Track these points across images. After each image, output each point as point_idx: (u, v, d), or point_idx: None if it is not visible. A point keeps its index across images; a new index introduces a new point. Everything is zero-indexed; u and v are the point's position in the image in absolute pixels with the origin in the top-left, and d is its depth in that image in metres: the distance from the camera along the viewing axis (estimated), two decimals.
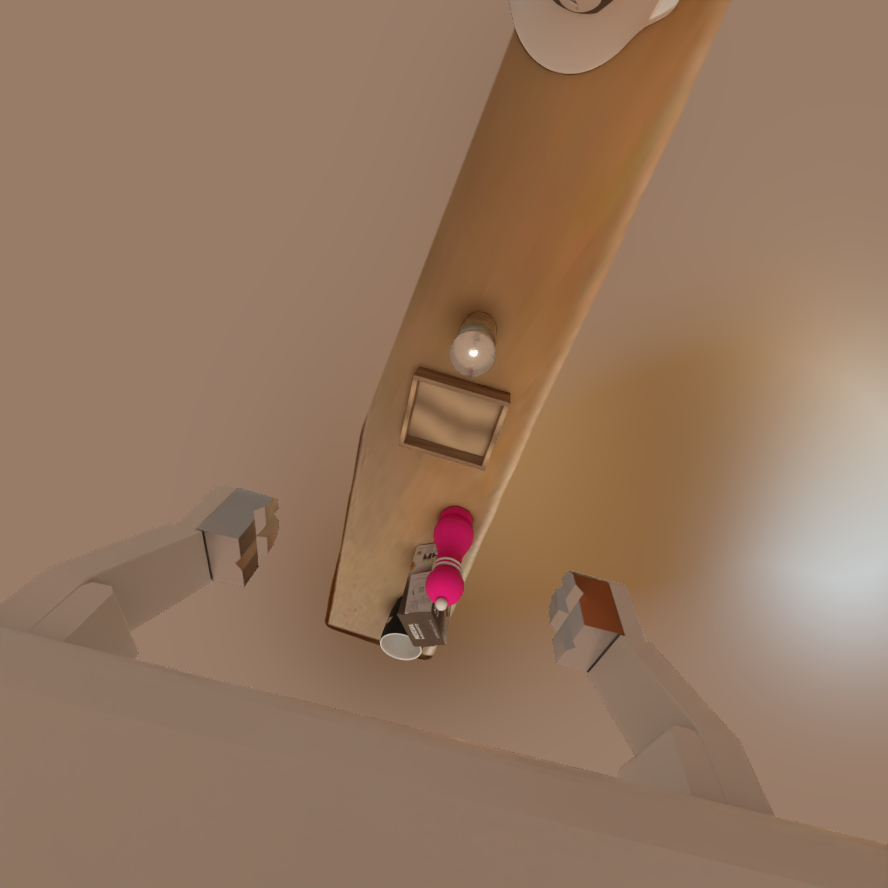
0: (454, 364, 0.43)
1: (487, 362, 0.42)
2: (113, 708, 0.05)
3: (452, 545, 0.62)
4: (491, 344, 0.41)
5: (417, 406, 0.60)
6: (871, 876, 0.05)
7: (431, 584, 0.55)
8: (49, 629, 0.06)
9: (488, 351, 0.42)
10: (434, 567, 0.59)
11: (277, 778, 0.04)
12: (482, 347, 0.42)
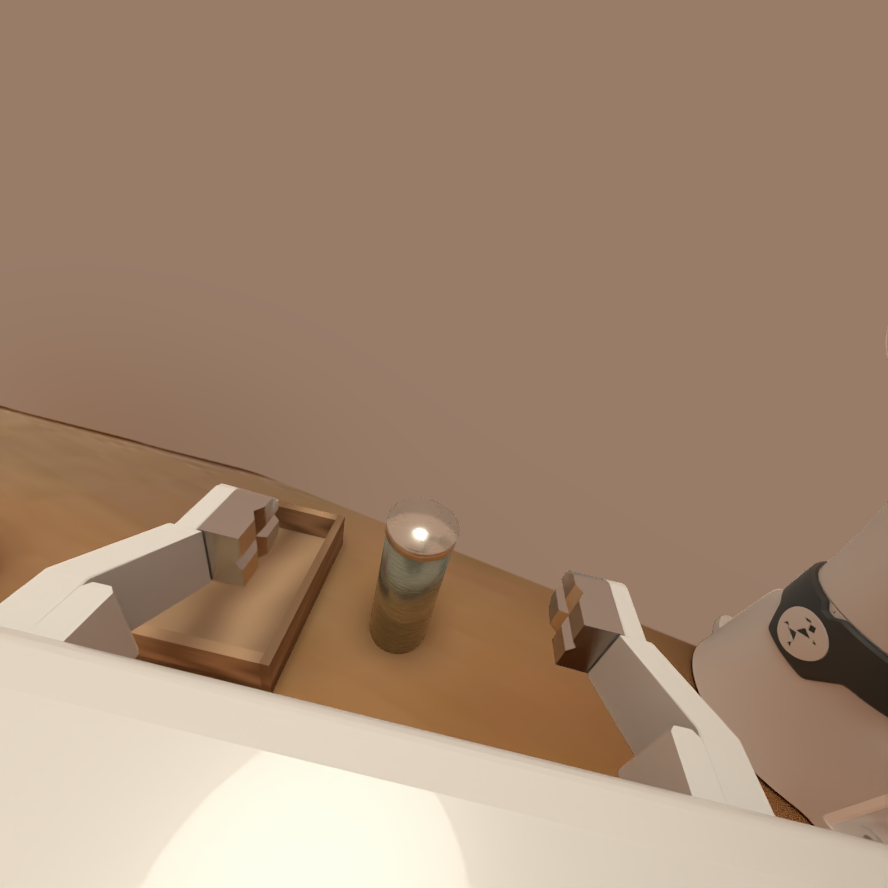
0: (405, 501, 0.28)
1: (413, 541, 0.25)
2: (112, 707, 0.05)
3: None
4: (444, 546, 0.25)
5: (279, 531, 0.38)
6: (871, 876, 0.05)
7: None
8: (49, 629, 0.06)
9: (432, 542, 0.25)
10: None
11: (277, 778, 0.04)
12: (437, 535, 0.26)
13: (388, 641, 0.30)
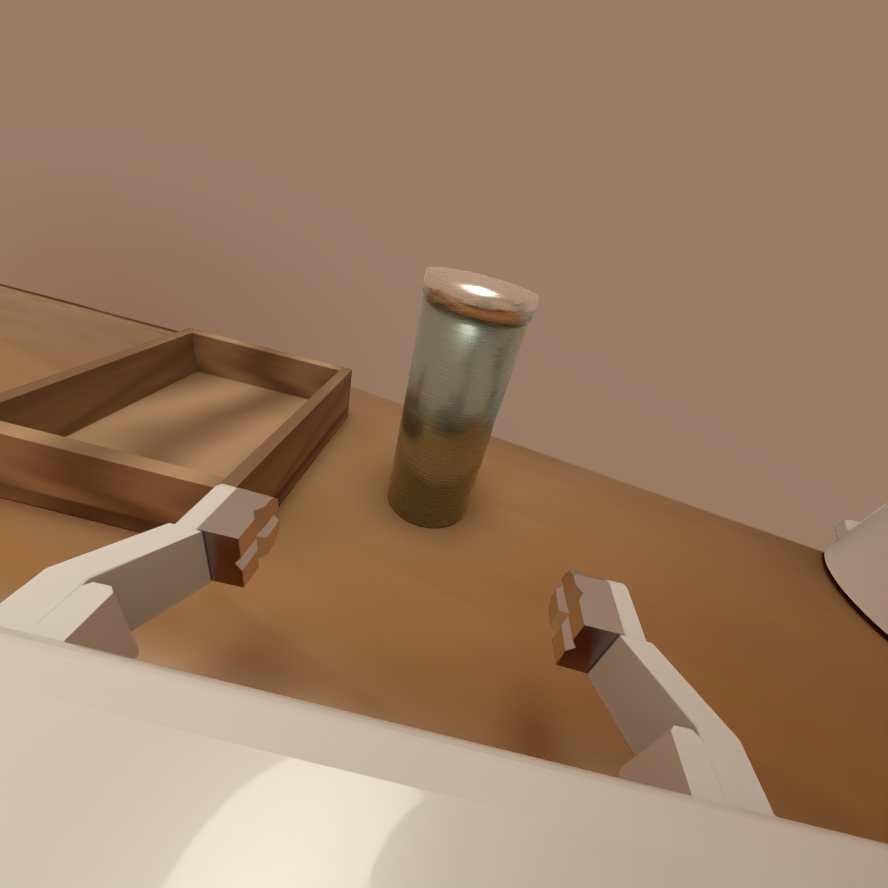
0: (450, 268, 0.18)
1: (472, 287, 0.15)
2: (114, 708, 0.05)
3: None
4: (522, 298, 0.15)
5: (263, 391, 0.28)
6: (871, 876, 0.05)
7: None
8: (49, 629, 0.06)
9: (502, 293, 0.15)
10: None
11: (277, 778, 0.04)
12: (507, 292, 0.16)
13: (417, 504, 0.21)
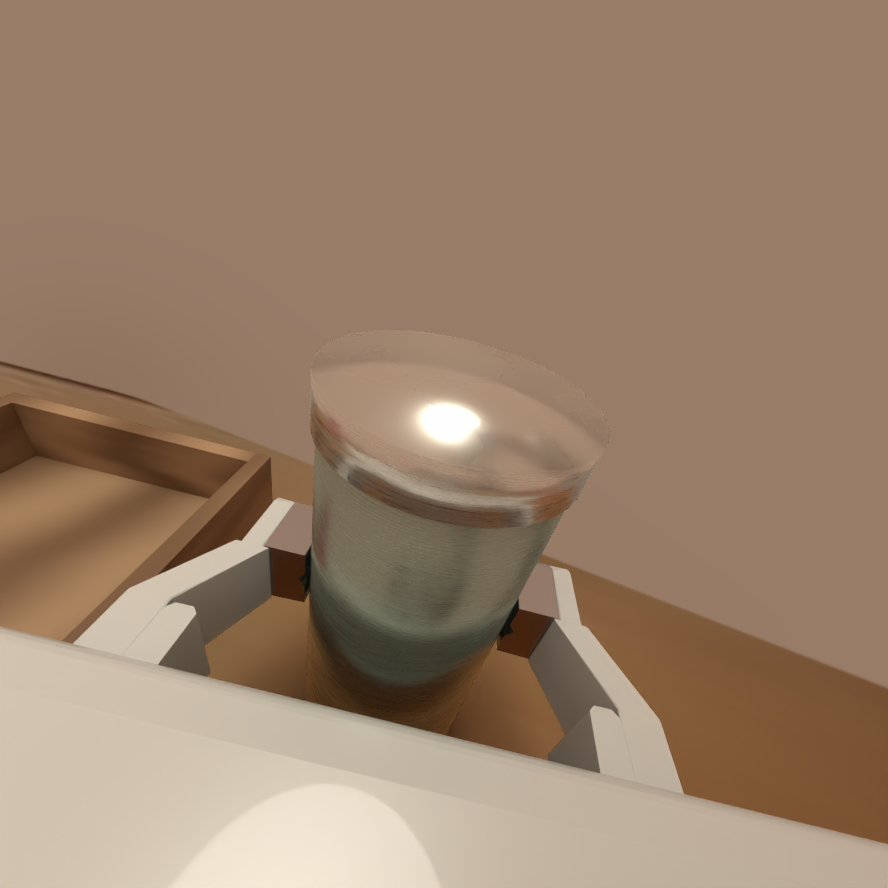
0: (396, 333, 0.08)
1: (429, 426, 0.05)
2: (112, 708, 0.05)
3: None
4: (575, 456, 0.05)
5: (136, 488, 0.18)
6: (871, 876, 0.05)
7: None
8: (142, 652, 0.06)
9: (517, 437, 0.05)
10: None
11: (277, 778, 0.04)
12: (529, 419, 0.06)
13: None
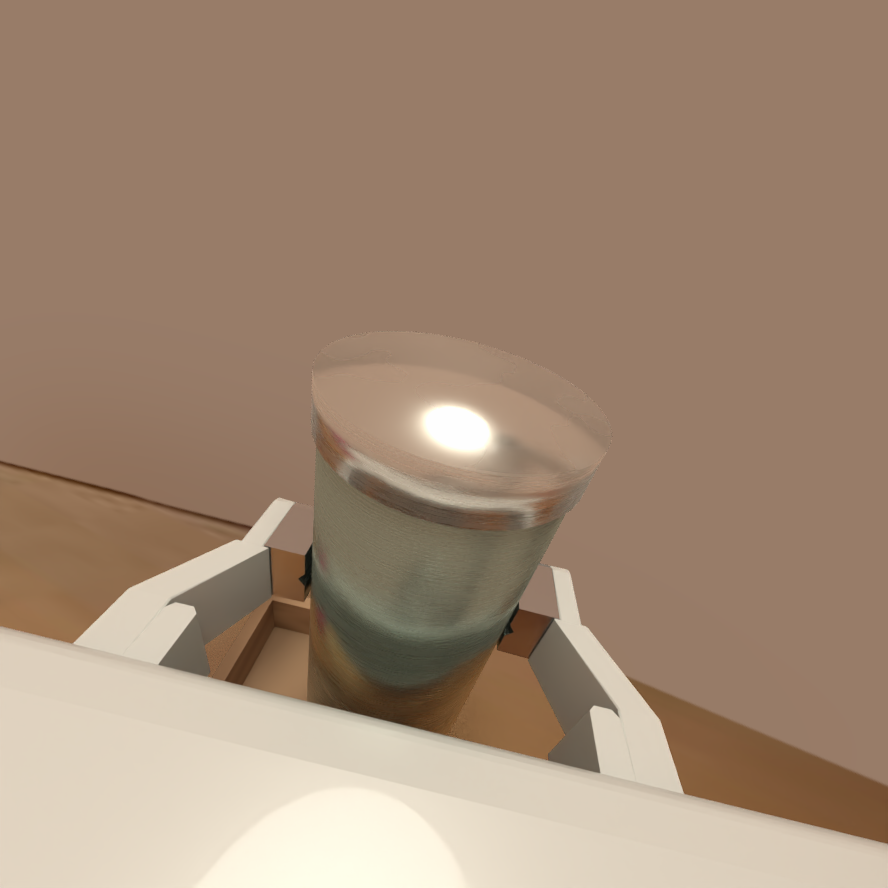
0: (397, 334, 0.08)
1: (431, 428, 0.05)
2: (113, 708, 0.05)
3: None
4: (577, 458, 0.05)
5: None
6: (871, 876, 0.05)
7: None
8: (142, 652, 0.06)
9: (520, 439, 0.05)
10: None
11: (277, 778, 0.04)
12: (531, 421, 0.06)
13: None
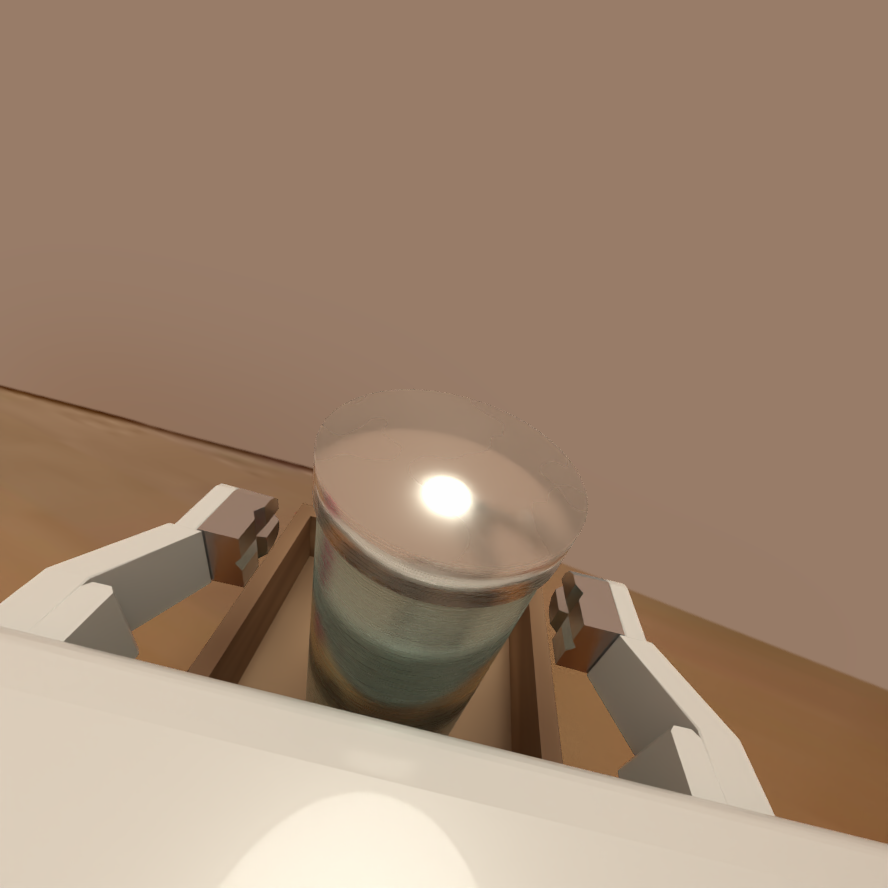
0: (393, 394, 0.09)
1: (421, 517, 0.06)
2: (112, 708, 0.05)
3: None
4: (552, 542, 0.06)
5: None
6: (871, 876, 0.05)
7: None
8: (49, 629, 0.06)
9: (502, 522, 0.06)
10: None
11: (277, 778, 0.04)
12: (514, 498, 0.06)
13: None
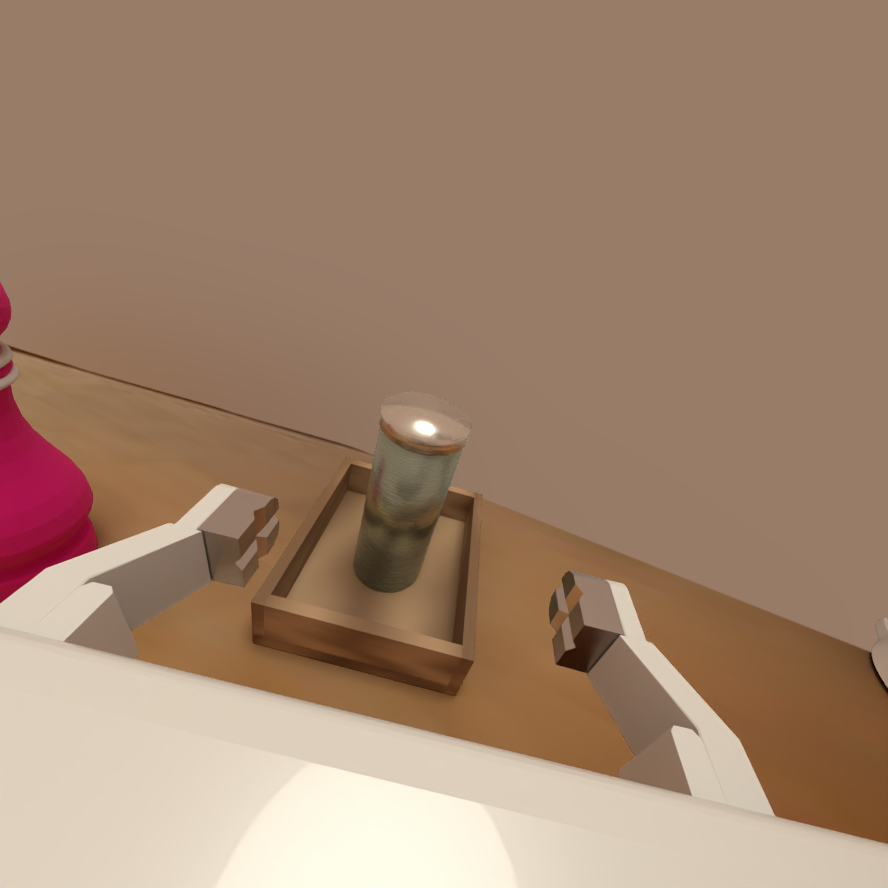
0: (405, 393, 0.22)
1: (415, 427, 0.19)
2: (112, 707, 0.05)
3: (13, 442, 0.18)
4: (454, 436, 0.20)
5: None
6: (871, 876, 0.05)
7: None
8: (49, 629, 0.06)
9: (439, 431, 0.20)
10: None
11: (277, 778, 0.04)
12: (445, 426, 0.20)
13: (375, 575, 0.25)
